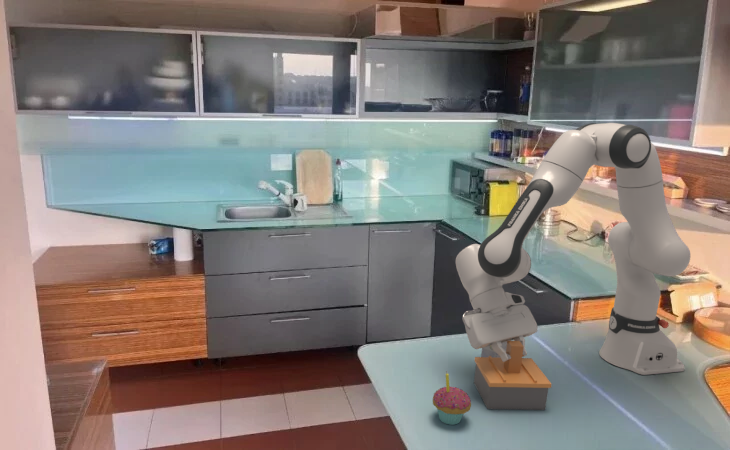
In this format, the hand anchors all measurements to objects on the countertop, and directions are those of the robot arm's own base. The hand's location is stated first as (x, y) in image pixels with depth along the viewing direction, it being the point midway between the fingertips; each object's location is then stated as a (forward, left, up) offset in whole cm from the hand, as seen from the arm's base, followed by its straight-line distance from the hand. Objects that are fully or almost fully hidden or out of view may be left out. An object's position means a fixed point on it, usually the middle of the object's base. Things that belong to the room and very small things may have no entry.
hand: (515, 358), depth 137 cm
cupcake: (+17, +9, -11) cm, 22 cm away
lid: (0, -1, -6) cm, 6 cm away
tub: (0, -1, -10) cm, 10 cm away
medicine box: (-3, -22, -11) cm, 24 cm away
